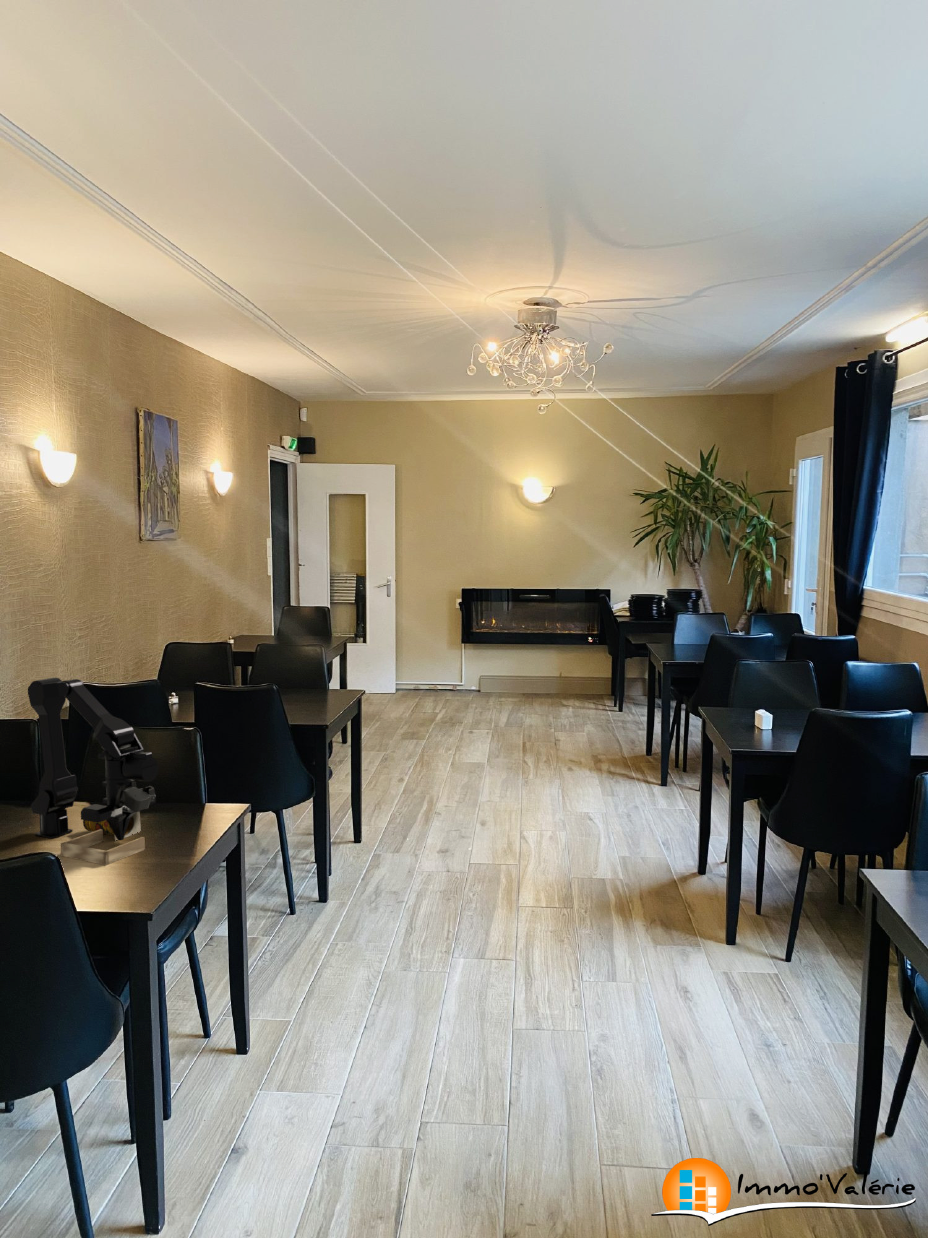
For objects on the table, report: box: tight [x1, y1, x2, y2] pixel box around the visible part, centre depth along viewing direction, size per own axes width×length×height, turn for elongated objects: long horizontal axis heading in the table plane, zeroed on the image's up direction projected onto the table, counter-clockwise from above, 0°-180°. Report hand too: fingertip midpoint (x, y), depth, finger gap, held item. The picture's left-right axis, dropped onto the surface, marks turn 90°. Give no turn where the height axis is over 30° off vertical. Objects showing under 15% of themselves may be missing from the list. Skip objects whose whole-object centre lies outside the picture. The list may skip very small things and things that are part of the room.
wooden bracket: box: [60, 829, 146, 866], centre depth 213 cm, size 15×12×3 cm
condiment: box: [82, 811, 142, 842], centre depth 227 cm, size 7×8×12 cm
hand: (120, 840), depth 218 cm, fingers closed
